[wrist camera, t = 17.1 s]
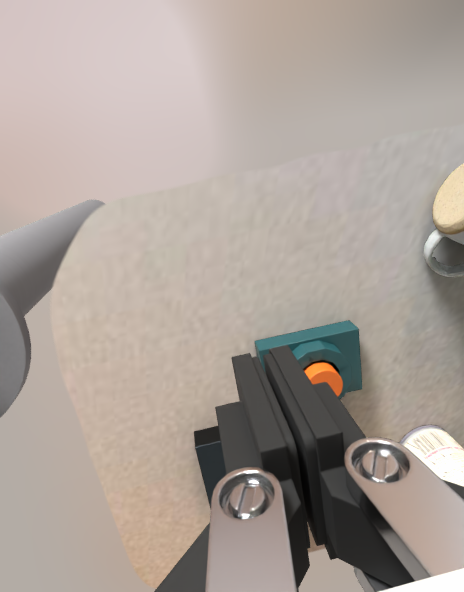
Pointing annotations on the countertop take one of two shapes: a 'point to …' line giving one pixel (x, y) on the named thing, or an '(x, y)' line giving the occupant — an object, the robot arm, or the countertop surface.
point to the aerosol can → (437, 452)
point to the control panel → (210, 458)
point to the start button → (324, 375)
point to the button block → (323, 350)
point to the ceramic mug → (447, 221)
